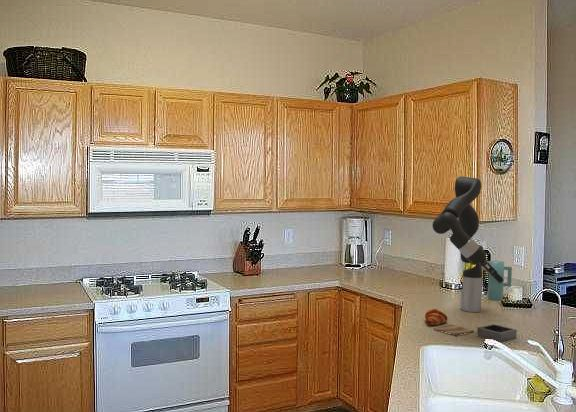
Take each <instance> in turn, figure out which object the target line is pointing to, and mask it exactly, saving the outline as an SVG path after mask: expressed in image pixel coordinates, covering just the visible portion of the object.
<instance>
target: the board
mask: <svg viewBox="0 0 576 412" xmlns="http://www.w3.org/2000/svg"><path fill="white" fill-rule="evenodd" d="M434 329H435V330H439V331H443V332H447V333H451V334H454V335H460V334H464V333H468V334H471V333H470V332H472V333H474V332H475V330H474V329H470V328H467V327H462V326H459V325H454V324H446V325H441V326H437V327H433V330H434ZM435 330H434V331H435ZM439 331H438V332H439ZM464 335H465V334H464ZM460 336H461V335H460Z"/></svg>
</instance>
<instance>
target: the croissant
mask: <svg viewBox="0 0 576 412" xmlns="http://www.w3.org/2000/svg"><path fill="white" fill-rule="evenodd" d="M424 314H425V315H424V319H425V322H426V324H427V325H429V326H440V325H439V324H441V325H442V324H445V322H447V321H448V315H447V314H446V312H444V311H442V310H440V309H439V308H430V309H428V310H427V311H426V312H425V313H424Z"/></svg>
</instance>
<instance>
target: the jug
mask: <svg viewBox="0 0 576 412" xmlns="http://www.w3.org/2000/svg"><path fill="white" fill-rule="evenodd" d="M488 261H489V262H490V264H491V265H492V266H493V267H494V269H495V270H496V271H497V272H498V274H499V275H500V276H501V277H502V278H503V279H505V278H504V276H505V275H504V274H505V271H507V278H506V279H507V280H506V282H504V281H505V280H504V281H503V282H501V283H499V282H498V281H497V280H496V279H495V278H494V277H492V275H491V274H490V273H489V274H488V280H487V281H488V282H487V283H488V285H487V300H489V301H492V302H502V301H504V287H512V277H513V276H512V272H513V271H512V270H513V269H512V268H513V267H512V266H507V265H506V266H505V262H504V261H501V260H488ZM494 272H495V271H494V270H493V271H491V273H492V274H493V273H494Z"/></svg>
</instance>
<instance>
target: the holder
mask: <svg viewBox="0 0 576 412" xmlns="http://www.w3.org/2000/svg"><path fill="white" fill-rule="evenodd" d="M476 328H477V333H476V334H477V335H478V336H477V335H476V336H477V337H480V336H481V338H485V339H487V338H488V340H491V339H494V340H493V341H495V340H497V341H496V342H498V341H499V343H503V342H507V341H510V340H513V339H517V337H518V336H517V333H518V330H517V329H515V328H513V327H512V328H511V327H507V326H502V325H499V324H495V323H491V324H487V325H483V326H479V327H476Z"/></svg>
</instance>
